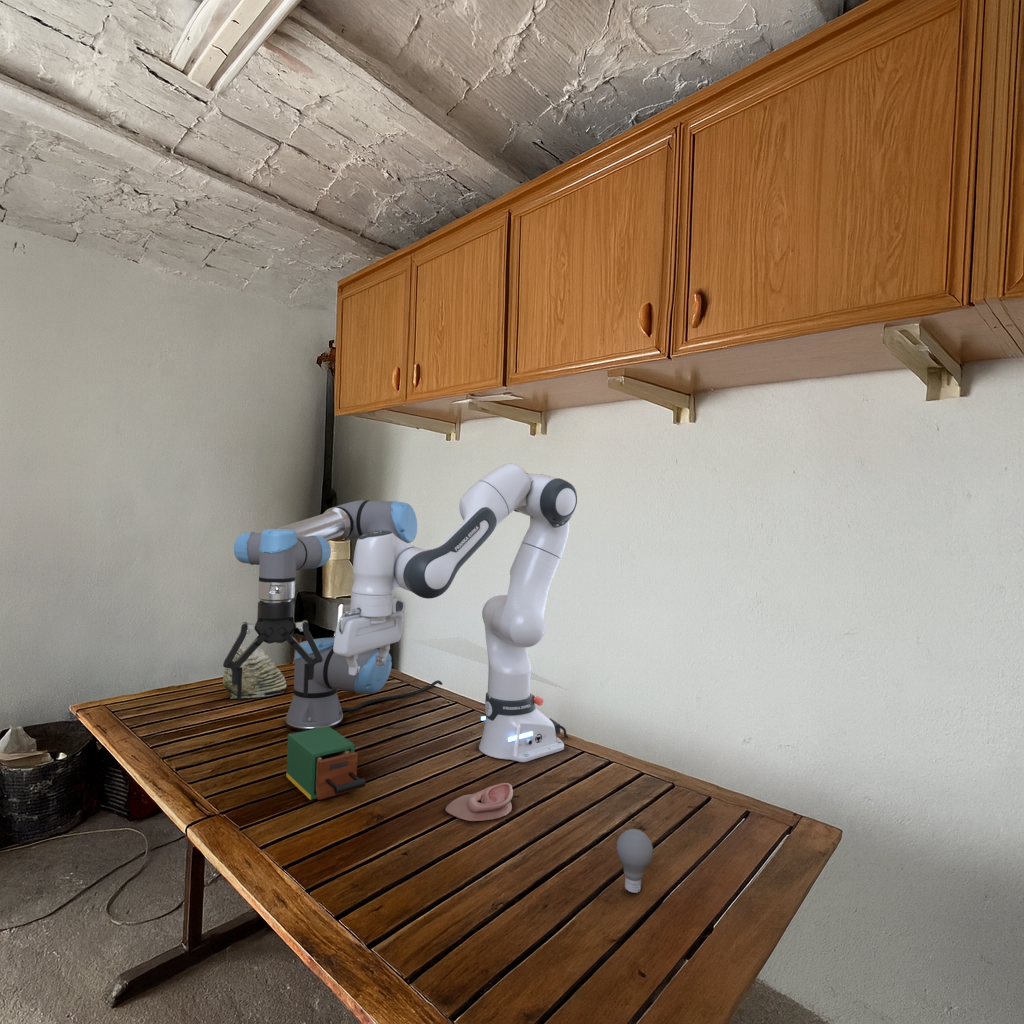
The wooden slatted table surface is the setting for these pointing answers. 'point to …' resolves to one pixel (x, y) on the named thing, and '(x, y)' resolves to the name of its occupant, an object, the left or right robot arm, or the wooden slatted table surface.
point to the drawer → (336, 774)
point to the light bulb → (634, 857)
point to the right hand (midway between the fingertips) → (367, 669)
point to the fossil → (256, 676)
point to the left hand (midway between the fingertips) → (272, 696)
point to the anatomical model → (483, 804)
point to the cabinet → (311, 755)
